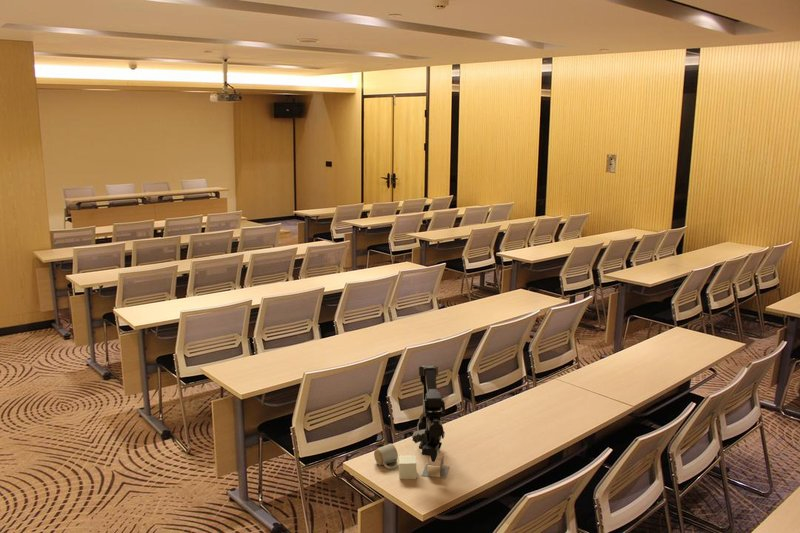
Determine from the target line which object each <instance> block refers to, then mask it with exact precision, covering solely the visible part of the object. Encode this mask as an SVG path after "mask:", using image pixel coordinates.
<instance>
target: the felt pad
mask: <svg viewBox="0 0 800 533" xmlns="http://www.w3.org/2000/svg"><path fill="white" fill-rule="evenodd" d="M449 469H450V466H448V465H443V467H442V471H441V475H440V477H435V476H428V463H426V464H425V466H424V470H423V471H422V474H421V476H422V477H426V478H428V477H429V478H437V479H444V480H445V479H446V478H447V475H448V473H449Z"/></svg>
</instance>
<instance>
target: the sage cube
mask: <svg viewBox="0 0 800 533" xmlns="http://www.w3.org/2000/svg"><path fill="white" fill-rule="evenodd" d="M398 477H399V480H407V479H408V480H410V479H412V480H415V479H417V457H416V454H411V455H410V454H408V455H407V454H406V455H403V454H402V455H398Z"/></svg>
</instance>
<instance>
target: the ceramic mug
mask: <svg viewBox="0 0 800 533" xmlns="http://www.w3.org/2000/svg"><path fill="white" fill-rule="evenodd" d="M373 457H374V460H375V462H376V463H377V465H378V466H384V467H385V468H386V469H388V470H394V469H396V468H397V466H398V460H399V455H398V451H397V448H396V447H395V445H394V444H393V443H388V444H385V445H383V446H380V447H378V448H376V449H375V450H374V456H373ZM394 462H395V464H394V465H393V466H390V465H388V464H392V463H394Z"/></svg>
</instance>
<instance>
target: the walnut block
mask: <svg viewBox="0 0 800 533" xmlns="http://www.w3.org/2000/svg"><path fill="white" fill-rule="evenodd" d="M427 464H428V476H435V477H440V475H441V471H442V467H443V466H444V453H442V452H441V453H439V452H438V455H437V457H436V460H435V462H432V460H431V457H430V456H429V459H428V462H427ZM435 477H434V478H435Z"/></svg>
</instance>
